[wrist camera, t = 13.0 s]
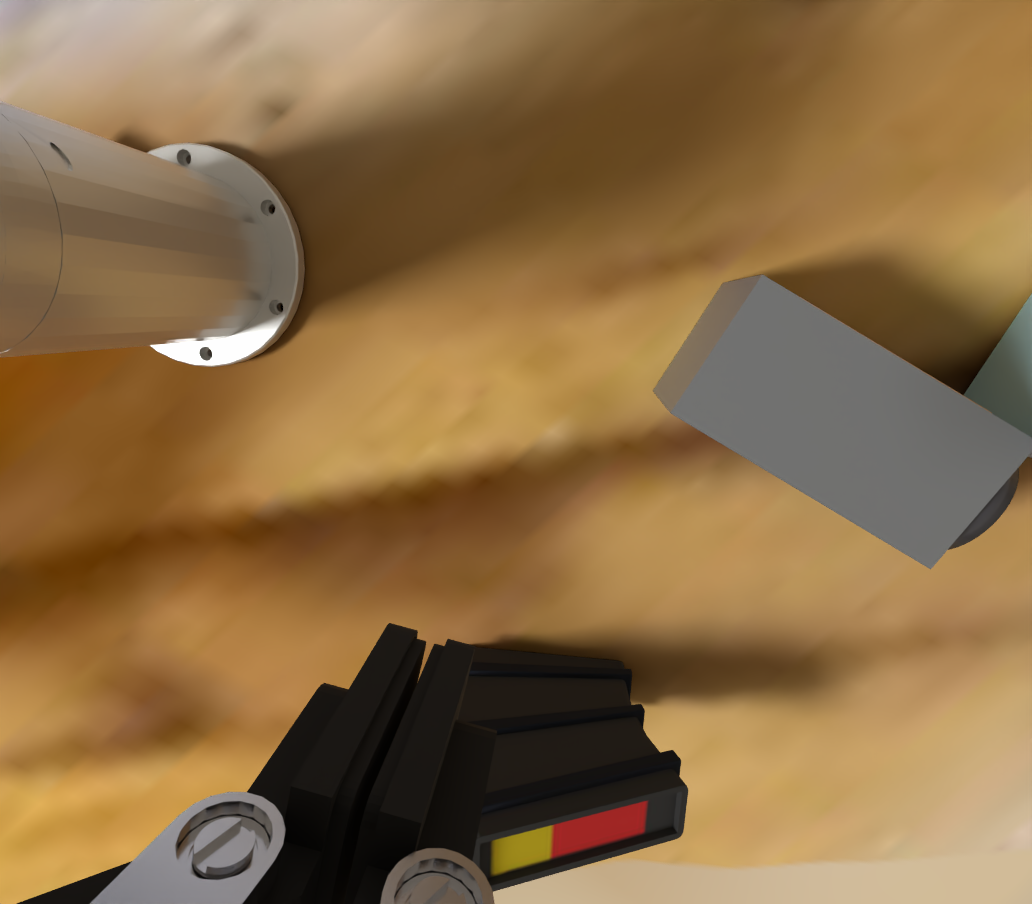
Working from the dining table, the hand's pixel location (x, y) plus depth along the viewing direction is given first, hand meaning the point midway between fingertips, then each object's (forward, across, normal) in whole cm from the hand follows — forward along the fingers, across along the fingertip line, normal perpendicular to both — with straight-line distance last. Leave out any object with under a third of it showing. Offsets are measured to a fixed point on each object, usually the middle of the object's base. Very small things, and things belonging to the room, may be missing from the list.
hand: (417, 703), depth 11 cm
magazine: (+27, -6, +16) cm, 31 cm away
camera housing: (+26, -14, -5) cm, 30 cm away
